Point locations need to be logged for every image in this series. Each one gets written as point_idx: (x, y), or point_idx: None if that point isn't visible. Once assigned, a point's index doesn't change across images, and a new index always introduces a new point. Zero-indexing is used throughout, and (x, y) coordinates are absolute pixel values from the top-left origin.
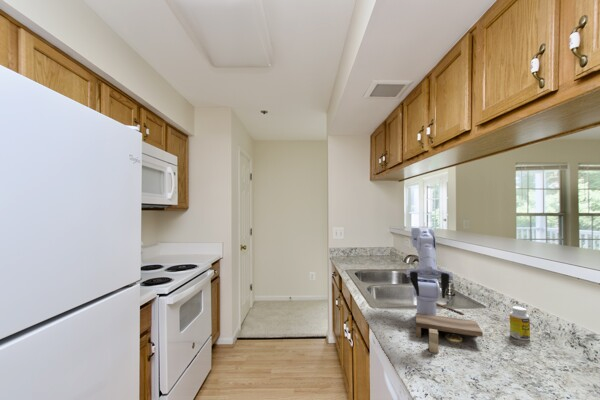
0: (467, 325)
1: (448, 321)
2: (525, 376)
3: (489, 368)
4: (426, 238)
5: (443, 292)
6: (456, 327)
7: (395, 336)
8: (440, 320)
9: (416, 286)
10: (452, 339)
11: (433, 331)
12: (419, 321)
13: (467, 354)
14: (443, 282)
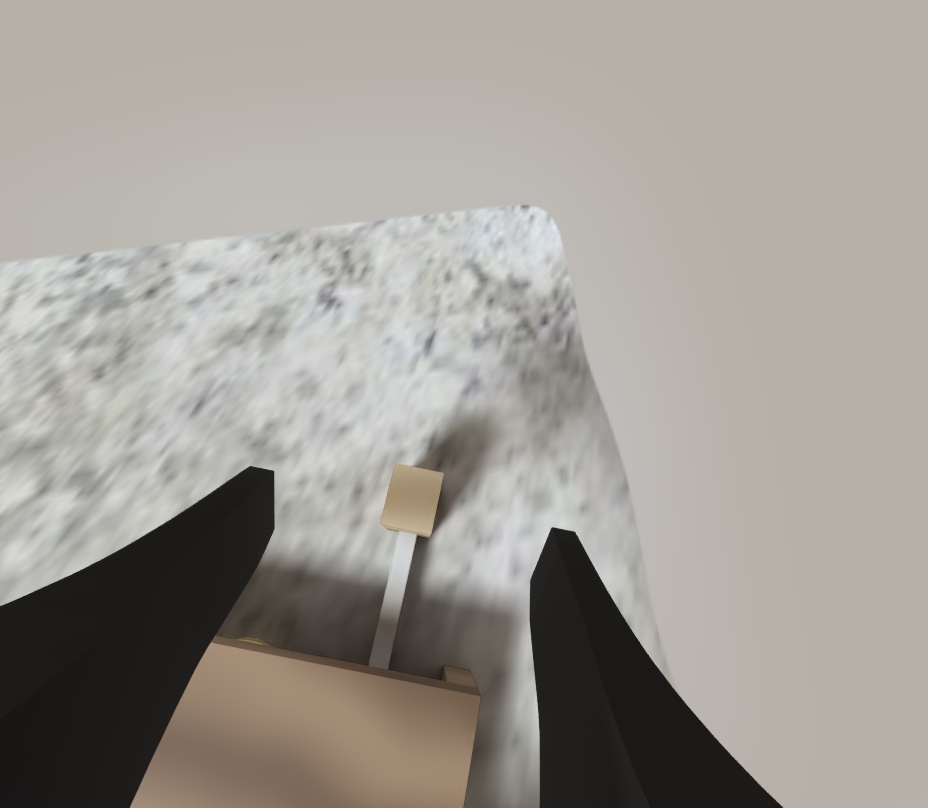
0: None
1: (204, 795)
2: (100, 347)
3: (220, 383)
4: None
5: (248, 481)
6: (201, 661)
7: None
8: (266, 805)
9: (599, 583)
10: (261, 644)
11: (414, 490)
12: (451, 728)
13: None
14: (128, 584)
